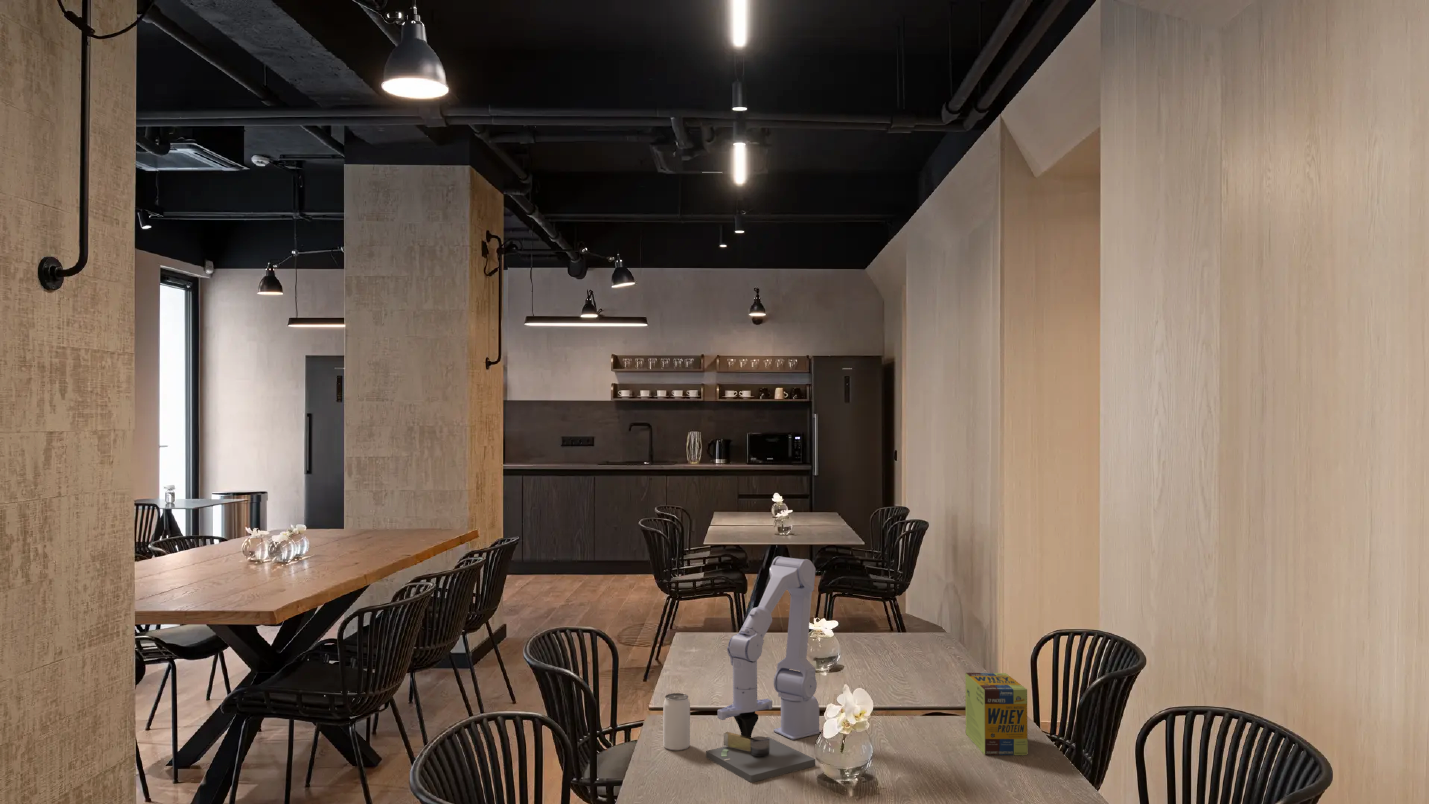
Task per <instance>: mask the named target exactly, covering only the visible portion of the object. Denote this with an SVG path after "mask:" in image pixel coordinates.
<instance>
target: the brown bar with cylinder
mask: <svg viewBox="0 0 1429 804" xmlns="http://www.w3.org/2000/svg"><path fill="white" fill-rule="evenodd" d="M767 737H768V736H763V735H762V736H759V735H758V736H751V737H747V736H743V735H741V734H737V733H733V732H730V731H726V732H723V747H725V746H729V747H733V748H738V749H742V750H746V751H750V753H751V754H752V755H755V756H766V755H769V753H770V739H769V738H767Z"/></svg>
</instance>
